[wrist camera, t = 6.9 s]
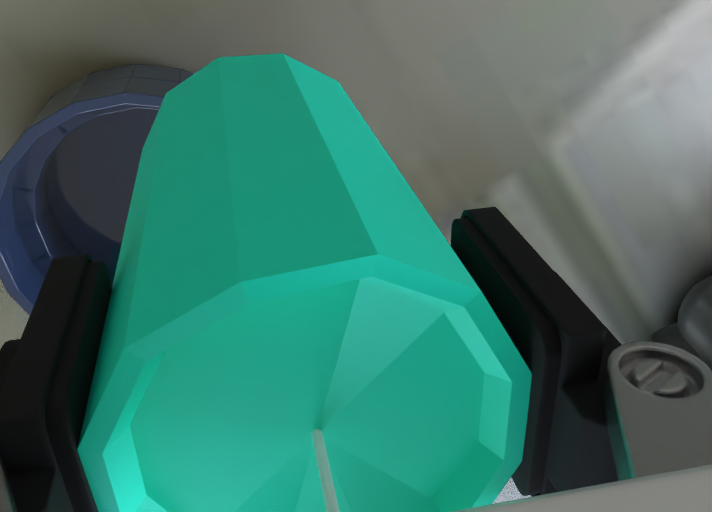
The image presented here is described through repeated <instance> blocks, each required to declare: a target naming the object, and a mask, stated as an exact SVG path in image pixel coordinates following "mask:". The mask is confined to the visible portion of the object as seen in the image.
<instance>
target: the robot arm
mask: <svg viewBox="0 0 712 512" xmlns="http://www.w3.org/2000/svg"><path fill="white" fill-rule="evenodd" d="M451 247H452V249H453V250H454V252H455V253H456V255H457V256H458V258H459V259H460V261H461V262H462V264H463V265H464V267H465V268H466V269H467V271H468V272H469V274H470V275H471V277H472V278H473V280H474V281H475V283H476V284H477V286H478V287H479V288H480V290H481V291H482V293H483V295H484V296H485V298H486V300H487V301H488V303H489V304H490V306H491V308H492V309H493V311H494V313H495V314H496V316H497V317H498V319H499V321H500V322H501V324H502V326H503V327H504V329H505V331H506V332H507V334H508V335H509V337H510V339H511V340H512V342H513V344H514V345H515V347H516V348H517V350H518V352H519V353H520V355H521V357H522V358H523V360H524V361H525V363H526V365H527V366H528V368H529V370H530V371H531V373H532V379H531V388H530V398H529V407H528V416H527V425H526V433H525V441H524V449H523V457H522V462H521V463H520V465H519V466H518V468H517V469H516V470H515V472H514V473H513V475H512V476H511V477H512V479H513V481H514V483H515V485H516V487H517V488H518V490H519V492H520V493H521V494H522V495H523V496H527V495H531V496H532V497H528V498H523V499H517V500H512V501H506V502H501V503H495V504H490V505H484V506H479V507H474V508H468V509H463V510H458V511H452V512H712V371H711V370H710V368H709V367H708V366H707V365H706V364H705V363H704V362H702V361H701V360H700V359H699V358H698V357H696V356H694V355H692V354H690V353H689V352H687V351H685V350H683V349H680V348H677V347H674V346H671V345H668V344H663V343H657V342H632V343H628V344H624V345H621V343H620V342H619V341H618V340H617V339H616V338H615V337H614V336H613V335H612V334H611V332H610V331H609V330H608V329H607V328H606V327H605V326H604V325H603V324H602V322H601V321H600V320H599V319H598V318H597V317H596V316H595V315H594V314H593V313H592V311H591V310H590V309H589V308H588V307H587V306H586V305H585V304H584V303H583V301H582V300H581V299H580V298H579V297H578V296H577V295H576V294H575V293H574V292H573V290H572V289H571V288H570V287H569V286H568V285H567V284H566V283H565V282H564V280H563V279H562V278H561V277H560V276H559V275H558V274H557V273H556V272H554V271H553V270H552V269H551V267H550V266H549V265H548V264H547V263H546V262H545V261H544V260H543V259H542V258H541V256H540V255H539V254H538V253H537V252H536V251H535V250H534V249H533V248H532V246H531V245H530V244H529V243H528V242H527V241H526V240H525V239H524V238H523V236H522V235H521V234H520V233H519V232H518V231H517V230H516V229H515V228H514V226H513V225H512V224H511V223H510V222H509V221H508V220H507V219H506V218H505V217H504V215H503V214H502V213H501V212H500V211H499V210H498V209H497V208H496V207H488V208H480V209H471V210H464V211H463V213H462V216H461V219H454V221H453V223H452V231H451ZM111 292H112V287H111V283H110V279H109V275H108V271H107V267H106V264H105V262H104V261H96V262H94V261H93V259H92V257H91V255H90V254H82V255H74V256H65V257H57V258H53V259H52V261H51V264H50V266H49V269H48V271H47V274H46V276H45V279H44V281H43V284H42V286H41V289H40V292H39V294H38V297H37V299H36V302H35V304H34V307H33V309H32V312H31V314H30V317H29V320H28V322H27V325H26V327H25V330H24V332H23V335H22V337H21V339H17V340H10V341H7V342H5V343H4V345H3V346H2V348H1V350H0V512H98V509H97V506H96V503H95V500H94V497H93V494H92V491H91V489H90V486H89V483H88V480H87V477H86V474H85V471H84V468H83V465H82V462H81V460H80V457H79V454H78V451H77V449H78V444H79V440H80V435H81V430H82V426H83V421H84V417H85V412H86V407H87V403H88V398H89V394H90V389H91V384H92V380H93V375H94V371H95V366H96V361H97V357H98V352H99V348H100V343H101V338H102V334H103V329H104V325H105V320H106V315H107V311H108V306H109V302H110V297H111Z"/></svg>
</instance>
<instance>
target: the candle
mask: <svg viewBox="0 0 712 512" xmlns="http://www.w3.org/2000/svg"><path fill="white" fill-rule="evenodd" d="M531 379H532V373H531V371H530V370H529V368H528V366H527V365H526V363H525V361H524V360H523V358H522V357H521V355H520V353H519V352H518V350H517V348H516V347H515V345H514V344H513V342H512V340H511V339H510V337H509V335H508V334H507V332H506V331H505V329H504V327H503V326H502V324H501V322H500V321H499V319H498V317H497V316H496V314H495V313H494V311H493V309H492V308H491V306H490V304H489V303H488V301H487V300H486V298H485V296H484V295H483V293H482V291H481V290H480V288H479V287H478V286H477V284H476V283H475V281H474V280H473V278H472V277H471V275H470V274H469V272H468V271H467V269H466V268H465V267H464V265H463V264H462V262H461V261H460V259H459V258H458V256H457V255H456V253H455V252H454V250H453V249H452V247H451V246H450V245H449V243H448V242H447V240H446V239H445V237H444V236H443V234H442V233H441V231H440V230H439V228H438V227H437V226H436V224H435V223H434V221H433V220H432V218H431V217H430V215H429V214H428V212H427V211H426V209H425V208H424V206H423V205H422V204H421V202H420V201H419V199H418V198H417V196H416V195H415V193H414V192H413V190H412V189H411V187H410V186H409V184H408V183H407V182H406V180H405V179H404V177H403V176H402V174H401V173H400V171H399V170H398V168H397V167H396V165H395V164H394V163H393V161H392V160H391V158H390V157H389V155H388V154H387V152H386V151H385V149H384V148H383V146H382V145H381V143H380V142H379V141H378V139H377V138H376V136H375V135H374V133H373V132H372V130H371V129H370V127H369V126H368V124H367V123H366V122H365V120H364V119H363V117H362V116H361V114H360V113H359V111H358V110H357V108H356V107H355V105H354V104H353V102H352V101H351V100H350V98H349V97H348V95H347V94H346V92H345V91H344V89H343V88H342V86H341V85H340V83H339V82H338V81H336V80H334V79H332V78H330V77H328V76H326V75H325V74H323V73H321V72H319V71H317V70H315V69H313V68H311V67H309V66H307V65H305V64H303V63H301V62H299V61H297V60H295V59H293V58H291V57H289V56H287V55H285V54H283V53H281V54H265V55H249V56H232V57H218V58H217V59H215V60H214V61H212V62H211V63H210V64H208V65H207V66H205V67H204V68H202V69H201V70H199V71H198V72H196V73H195V74H193V75H192V76H191V77H189V78H188V79H186V80H185V81H183V82H182V83H180V84H179V85H177V86H176V87H175V88H173V89H172V90H170V91H169V92H167V93H166V95H165V97H164V99H163V102H162V104H161V106H160V109H159V111H158V113H157V116H156V118H155V120H154V123H153V125H152V128H151V130H150V132H149V135H148V137H147V139H146V142H145V144H144V146H143V149H142V153H141V158H140V162H139V167H138V172H137V176H136V181H135V185H134V190H133V194H132V199H131V203H130V208H129V213H128V217H127V222H126V226H125V231H124V235H123V240H122V245H121V249H120V254H119V258H118V263H117V267H116V272H115V277H114V281H113V286H112V292H111V297H110V302H109V306H108V311H107V315H106V320H105V325H104V329H103V334H102V338H101V343H100V348H99V352H98V357H97V361H96V366H95V371H94V375H93V380H92V384H91V389H90V394H89V398H88V403H87V407H86V412H85V417H84V421H83V426H82V430H81V435H80V440H79V444H78V449H77V451H78V454H79V457H80V460H81V462H82V465H83V468H84V471H85V474H86V477H87V480H88V483H89V486H90V489H91V491H92V494H93V497H94V500H95V503H96V506H97V509H98V512H452V511H458V510H463V509H468V508H474V507H479V506H484V505H490V504H492V503H493V502H494V500H495V499H496V498H497V496H498V495H499V493H500V492H501V490H502V489H503V488H504V486H505V485H506V483H507V482H508V480H509V479H510V478H511V476H512V475H513V473H514V472H515V470H516V469H517V468H518V466H519V465H520V463H521V462H522V457H523V449H524V441H525V433H526V425H527V416H528V407H529V398H530V388H531Z"/></svg>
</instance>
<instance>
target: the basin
mask: <svg viewBox="0 0 712 512" xmlns="http://www.w3.org/2000/svg"><path fill="white" fill-rule="evenodd" d="M192 75H193V74H192V73H190V72H188V71H185V70H183V69H177V68H168V67H159V66H151V65H142V64H137V65H136V64H131V65H126V66H121V67H116V68H111V69H106V70H101V71H96V72H92V73H90V74H88V75H86V76H84V77H83V78H81V79H79V80H78V81H76V82H74V83H72V84H71V85H69V86H67V87H66V88H64V89H62V90H60V91H59V92H57V93H55V94H54V95H53V96H52V97H51V98H50V100H49V101H48V102H47V103H46V104H45V106H44V107H43V108H42V109H41V111H40V112H39V113H38V114H37V116H36V117H35V118H34V119H33V120H32V122H31V123H30V124H29V125H28V127H27V128H26V129H25V130H24V132H23V133H22V134H21V136H20V137H19V138H18V139H17V141H16V142H15V143H14V145H13V146H12V147H11V148H10V150H9V151H8V152H7V154H6V155H5V156H4V158H3V159H2V160H1V161H0V278H1V280H2V282H3V284H4V287H5V289H6V291H7V292H8V294H9V295H10V296H11V297H12V298H13V299H14V300H15V301H16V302H17V303H18V304H19V305H20V306H21V307H22V308H23V309H24V310H25V311H26V312H27V314H28V315H29V316H30V314H31V312H32V309H33V307H34V304H35V302H36V299H37V297H38V294H39V292H40V289H41V286H42V284H43V281H44V279H45V276H46V274H47V271H48V269H49V266H50V264H51V261H52V259H53V258H57V257H65V256H74V255H82V254H90V255H91V257H92V259H93V261H94V262H96V261H104V262H105V264H106V267H107V271H108V275H109V279H110V283H111V287H112V286H113V281H114V277H115V272H116V267H117V263H118V258H119V254H120V249H121V245H122V240H123V235H124V231H125V226H126V222H127V217H128V213H129V208H130V203H131V199H132V194H133V190H134V185H135V181H136V176H137V172H138V167H139V162H140V158H141V153H142V149H143V146H144V144H145V142H146V139H147V137H148V135H149V132H150V130H151V128H152V125H153V123H154V120H155V118H156V116H157V113H158V111H159V109H160V106H161V104H162V102H163V99H164V97H165V95H166V93H167V92H169V91H170V90H172V89H173V88H175V87H176V86H177V85H179V84H180V83H182V82H183V81H185V80H186V79H188V78H189V77H191V76H192Z"/></svg>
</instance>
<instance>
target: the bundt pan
mask: <svg viewBox="0 0 712 512" xmlns="http://www.w3.org/2000/svg"><path fill="white" fill-rule="evenodd" d="M651 342H657V343H663V344H668V345H671V346H674V347H677V348H680V349H683V350H685V351H687V352H689V353H690V354H692V355H694V356H696V357H698V358H699V359H700V360H701V361H702V362H704V363H705V364H706V365H707V366H708V367H709V368H710V370H711V371H712V275H711V276H709V277H707V278H705V279H703V280H701V281H700V282H699V283H697V284H696V285H695V286H693V288H692V289H691V290H690V291H689V292H688V293H687V295H686V296H685V298H684V300H683V301H682V304H681V307H680V310H679V313H678V322H676V323H674V324H672V325H669V326H667V327H665V328H662V329H660V330H658V331H656V332H655V333H654V334H653V335H652V336H651Z"/></svg>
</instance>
